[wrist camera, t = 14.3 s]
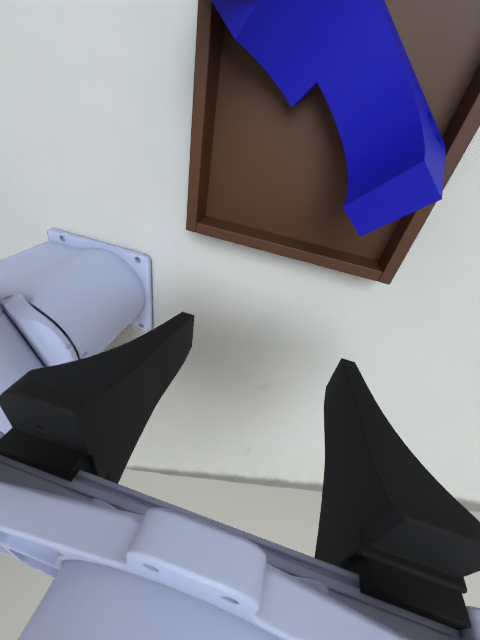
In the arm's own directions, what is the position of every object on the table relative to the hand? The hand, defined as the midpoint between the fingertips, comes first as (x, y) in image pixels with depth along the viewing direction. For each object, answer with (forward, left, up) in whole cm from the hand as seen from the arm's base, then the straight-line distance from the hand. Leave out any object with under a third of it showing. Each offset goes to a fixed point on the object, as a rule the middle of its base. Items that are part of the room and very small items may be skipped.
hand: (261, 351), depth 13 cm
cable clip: (0, +12, -8) cm, 14 cm away
